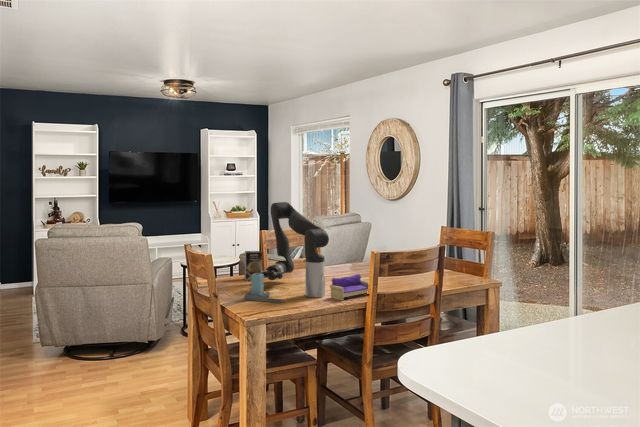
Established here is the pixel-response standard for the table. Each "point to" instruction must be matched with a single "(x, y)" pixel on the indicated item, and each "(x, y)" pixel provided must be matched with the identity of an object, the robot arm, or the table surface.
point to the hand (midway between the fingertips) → (264, 277)
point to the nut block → (257, 284)
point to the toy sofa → (348, 287)
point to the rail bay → (261, 298)
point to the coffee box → (252, 263)
